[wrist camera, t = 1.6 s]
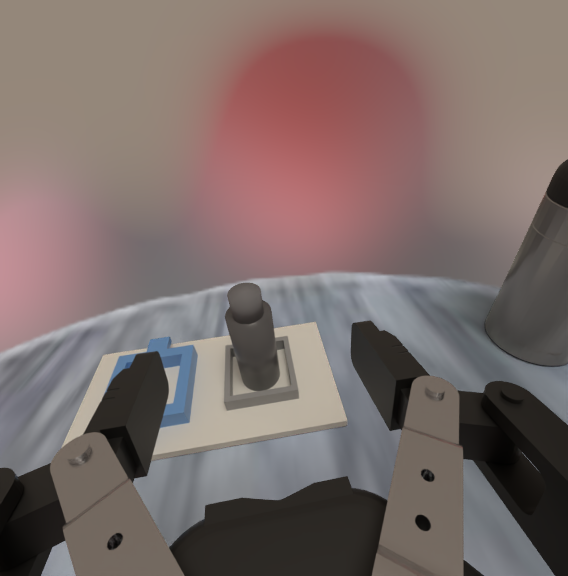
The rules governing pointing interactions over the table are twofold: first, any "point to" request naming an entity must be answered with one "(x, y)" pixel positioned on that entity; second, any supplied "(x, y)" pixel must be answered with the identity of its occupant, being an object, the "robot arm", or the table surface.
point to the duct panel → (229, 393)
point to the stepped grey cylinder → (252, 336)
